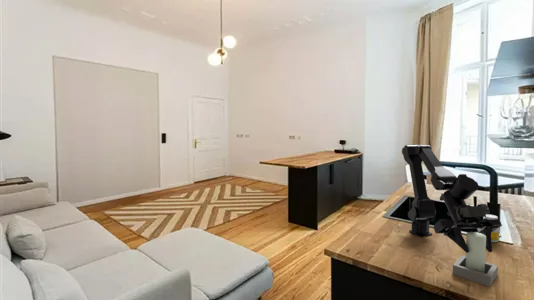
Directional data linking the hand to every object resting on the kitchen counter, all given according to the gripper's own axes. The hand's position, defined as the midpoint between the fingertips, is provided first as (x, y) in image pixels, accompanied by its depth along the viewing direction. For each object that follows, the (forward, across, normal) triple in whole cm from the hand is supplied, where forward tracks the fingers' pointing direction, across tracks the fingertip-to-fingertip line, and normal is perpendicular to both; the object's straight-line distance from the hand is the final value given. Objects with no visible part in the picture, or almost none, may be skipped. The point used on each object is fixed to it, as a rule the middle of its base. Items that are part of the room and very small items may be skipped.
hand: (479, 252), depth 84 cm
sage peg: (+5, 0, +7) cm, 8 cm away
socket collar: (+5, 0, +7) cm, 8 cm away
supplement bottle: (-13, +24, +24) cm, 36 cm away
